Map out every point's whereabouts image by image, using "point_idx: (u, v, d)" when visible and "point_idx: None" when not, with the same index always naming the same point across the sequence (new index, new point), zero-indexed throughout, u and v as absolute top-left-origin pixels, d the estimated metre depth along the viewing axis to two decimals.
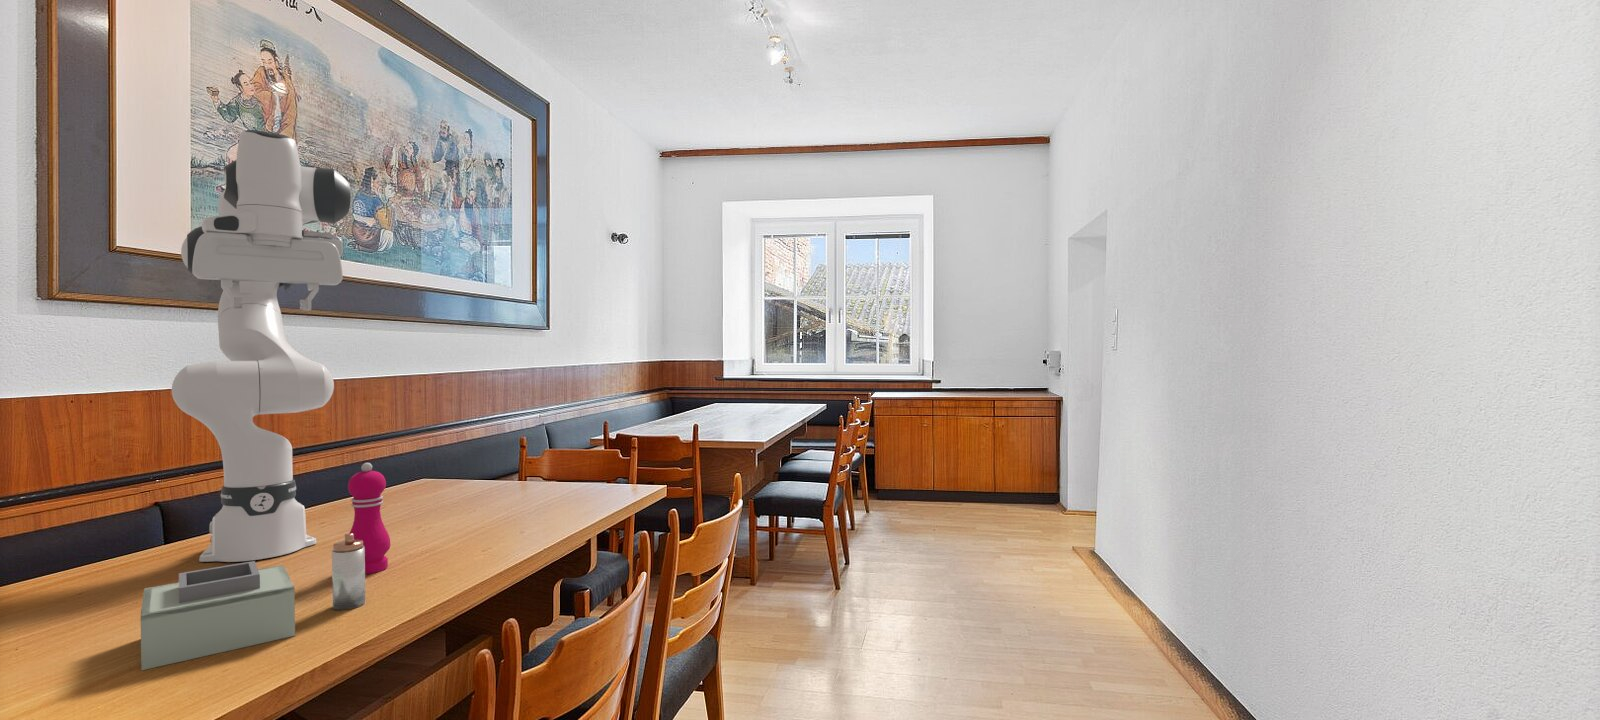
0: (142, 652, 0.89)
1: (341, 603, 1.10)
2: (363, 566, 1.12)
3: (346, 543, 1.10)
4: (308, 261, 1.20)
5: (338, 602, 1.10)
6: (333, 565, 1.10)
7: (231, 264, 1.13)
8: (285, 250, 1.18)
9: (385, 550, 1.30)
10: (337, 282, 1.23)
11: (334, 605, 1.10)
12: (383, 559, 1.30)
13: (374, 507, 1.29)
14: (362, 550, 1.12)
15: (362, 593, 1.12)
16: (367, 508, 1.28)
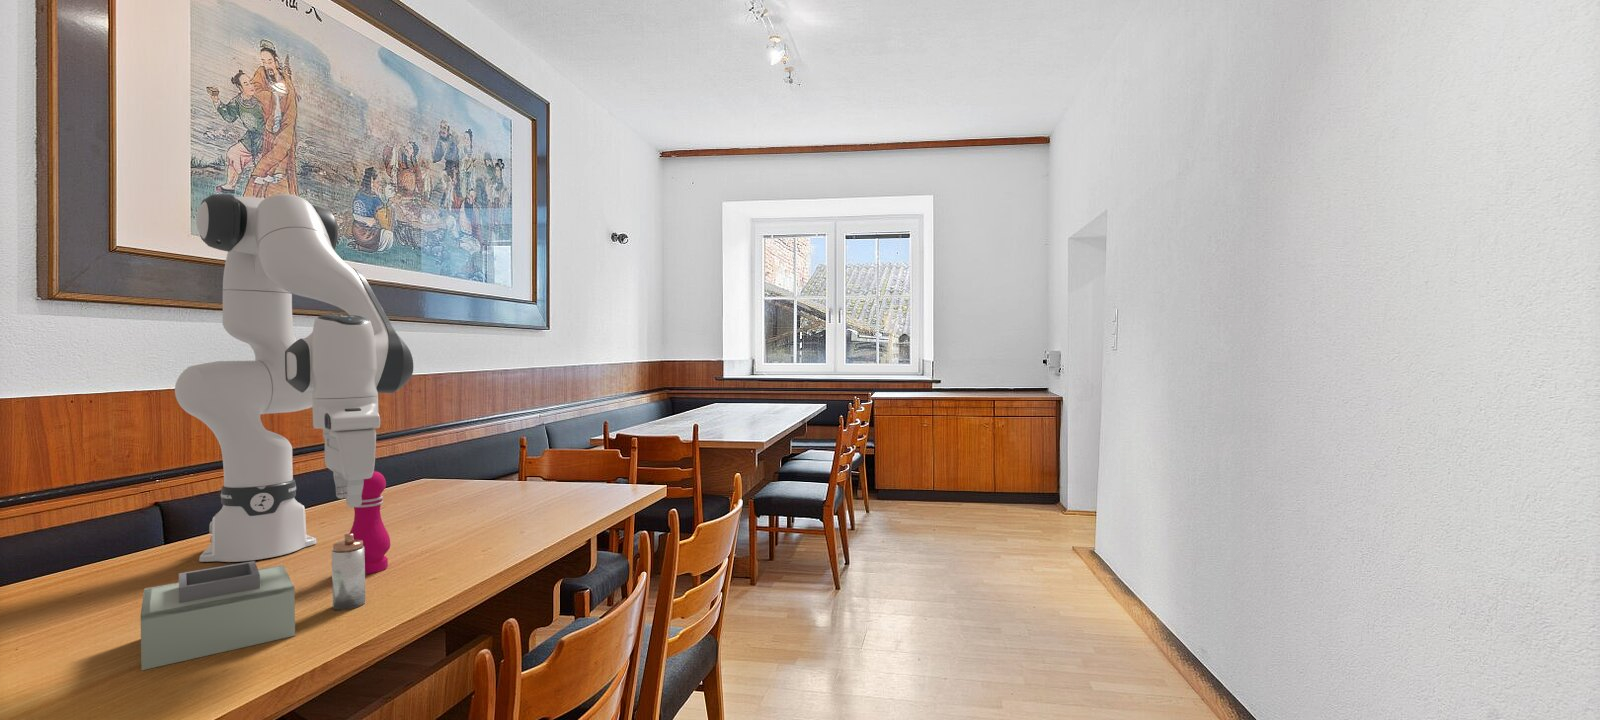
0: (142, 652, 0.89)
1: (341, 603, 1.10)
2: (363, 566, 1.12)
3: (346, 543, 1.10)
4: None
5: (338, 602, 1.10)
6: (333, 565, 1.10)
7: None
8: None
9: (385, 550, 1.30)
10: None
11: (334, 605, 1.10)
12: (383, 559, 1.30)
13: (374, 507, 1.29)
14: (362, 550, 1.12)
15: (362, 593, 1.12)
16: (367, 508, 1.28)
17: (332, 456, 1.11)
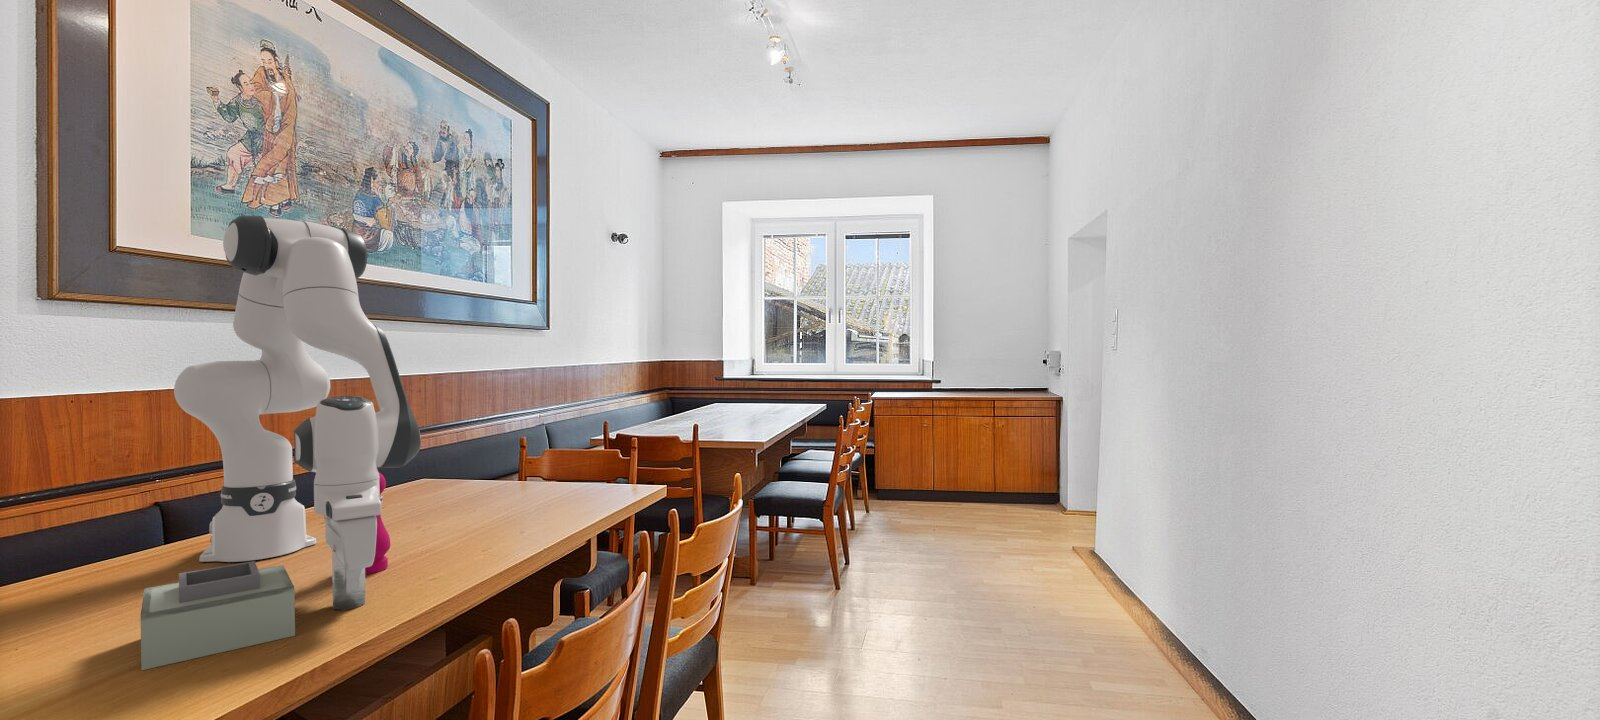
0: (142, 652, 0.89)
1: (341, 603, 1.10)
2: None
3: None
4: None
5: (338, 602, 1.10)
6: (333, 565, 1.10)
7: None
8: None
9: (385, 550, 1.30)
10: None
11: (334, 605, 1.10)
12: (383, 559, 1.30)
13: None
14: None
15: (362, 593, 1.12)
16: None
17: (333, 539, 1.12)
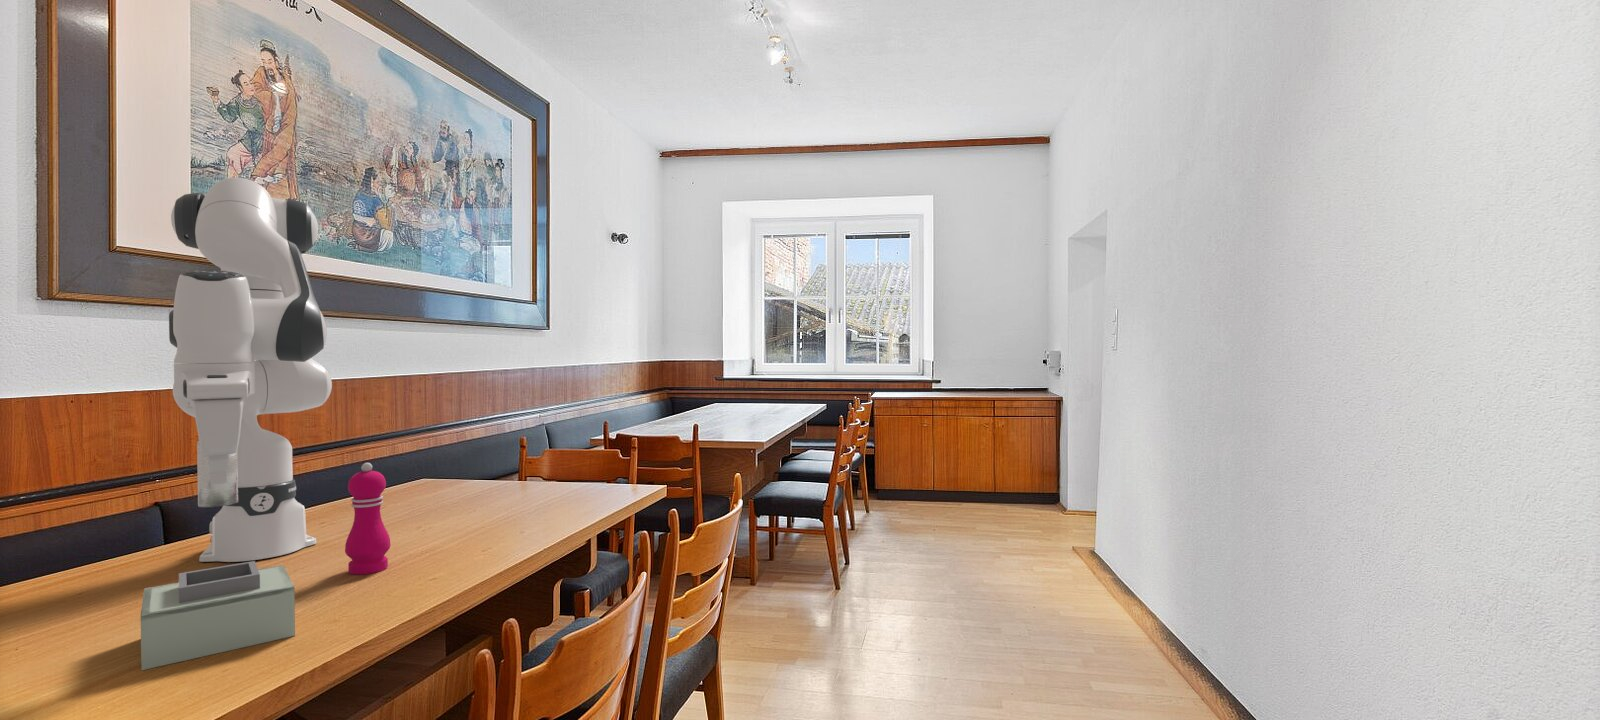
0: (142, 652, 0.89)
1: (206, 499, 0.97)
2: (234, 460, 1.00)
3: None
4: None
5: (203, 498, 0.97)
6: (198, 457, 0.98)
7: None
8: None
9: (385, 550, 1.30)
10: None
11: (199, 502, 0.98)
12: (383, 559, 1.30)
13: (374, 507, 1.29)
14: None
15: (233, 490, 1.00)
16: (367, 508, 1.28)
17: None
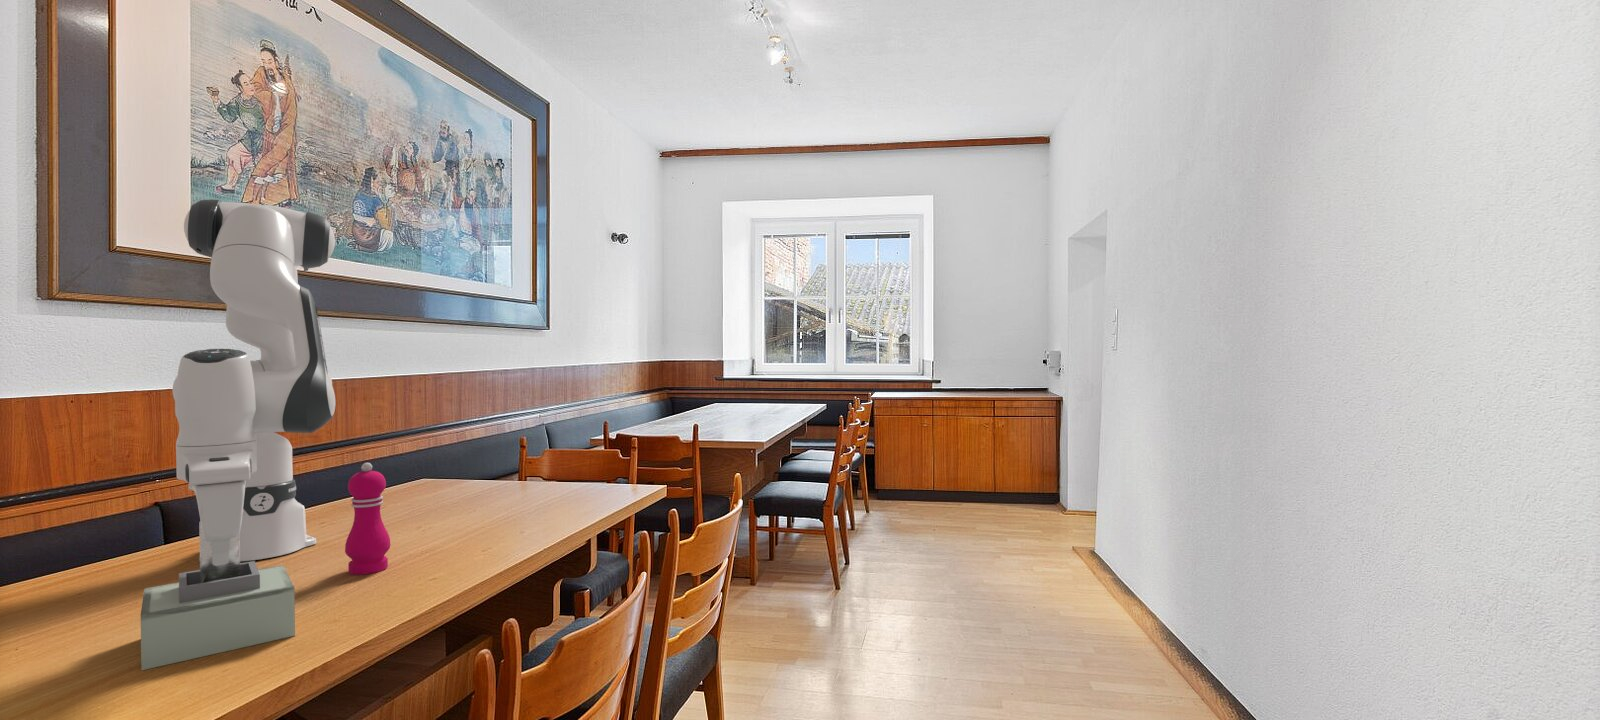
0: (142, 652, 0.89)
1: (208, 579, 0.97)
2: (237, 539, 1.00)
3: None
4: None
5: (205, 579, 0.98)
6: (200, 537, 0.98)
7: None
8: None
9: (385, 550, 1.30)
10: None
11: (201, 582, 0.98)
12: (383, 559, 1.30)
13: (374, 507, 1.29)
14: None
15: (235, 569, 1.00)
16: (367, 508, 1.28)
17: None
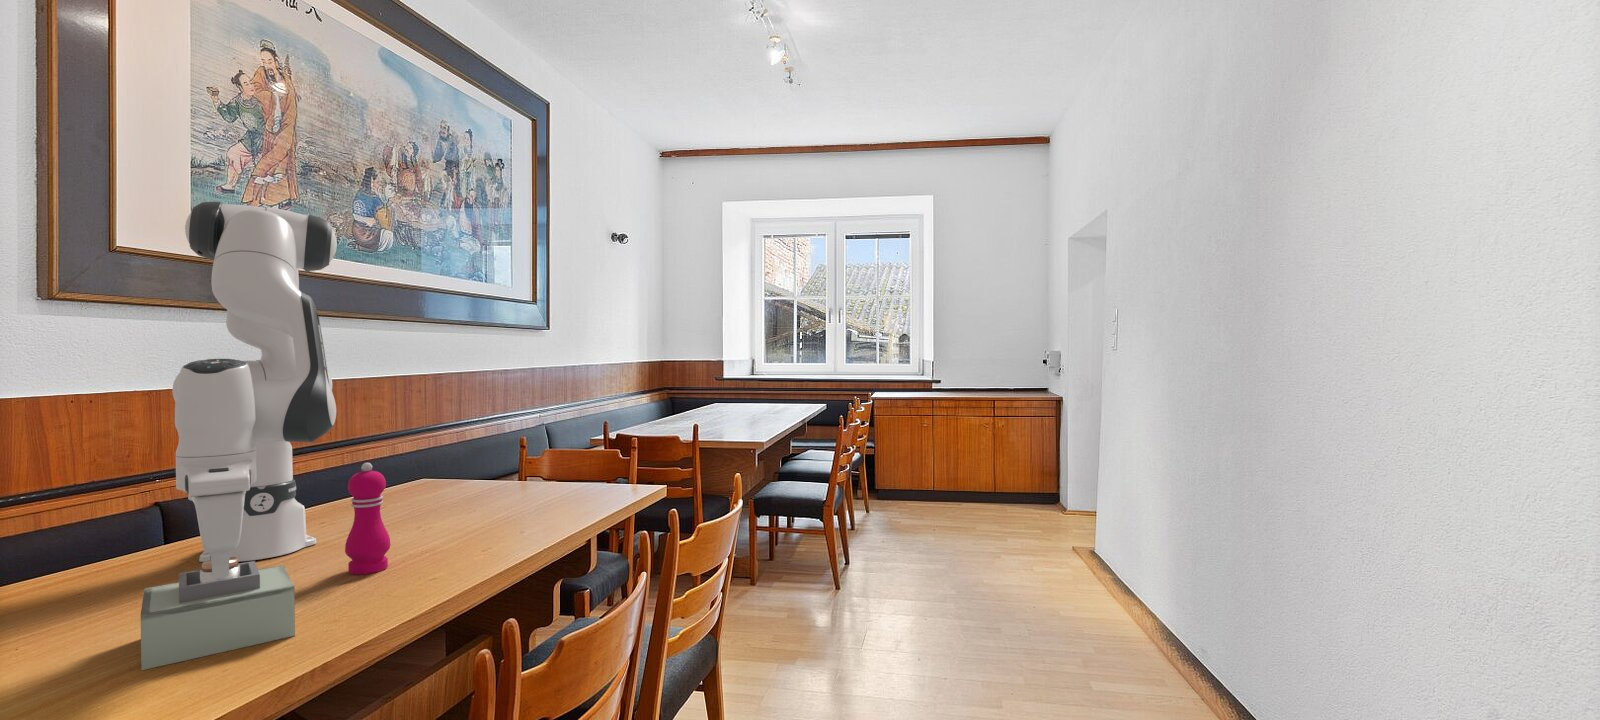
0: (142, 652, 0.89)
1: None
2: None
3: None
4: None
5: None
6: None
7: None
8: None
9: (385, 550, 1.30)
10: None
11: None
12: (383, 559, 1.30)
13: (374, 507, 1.29)
14: (236, 569, 1.00)
15: None
16: (367, 508, 1.28)
17: None
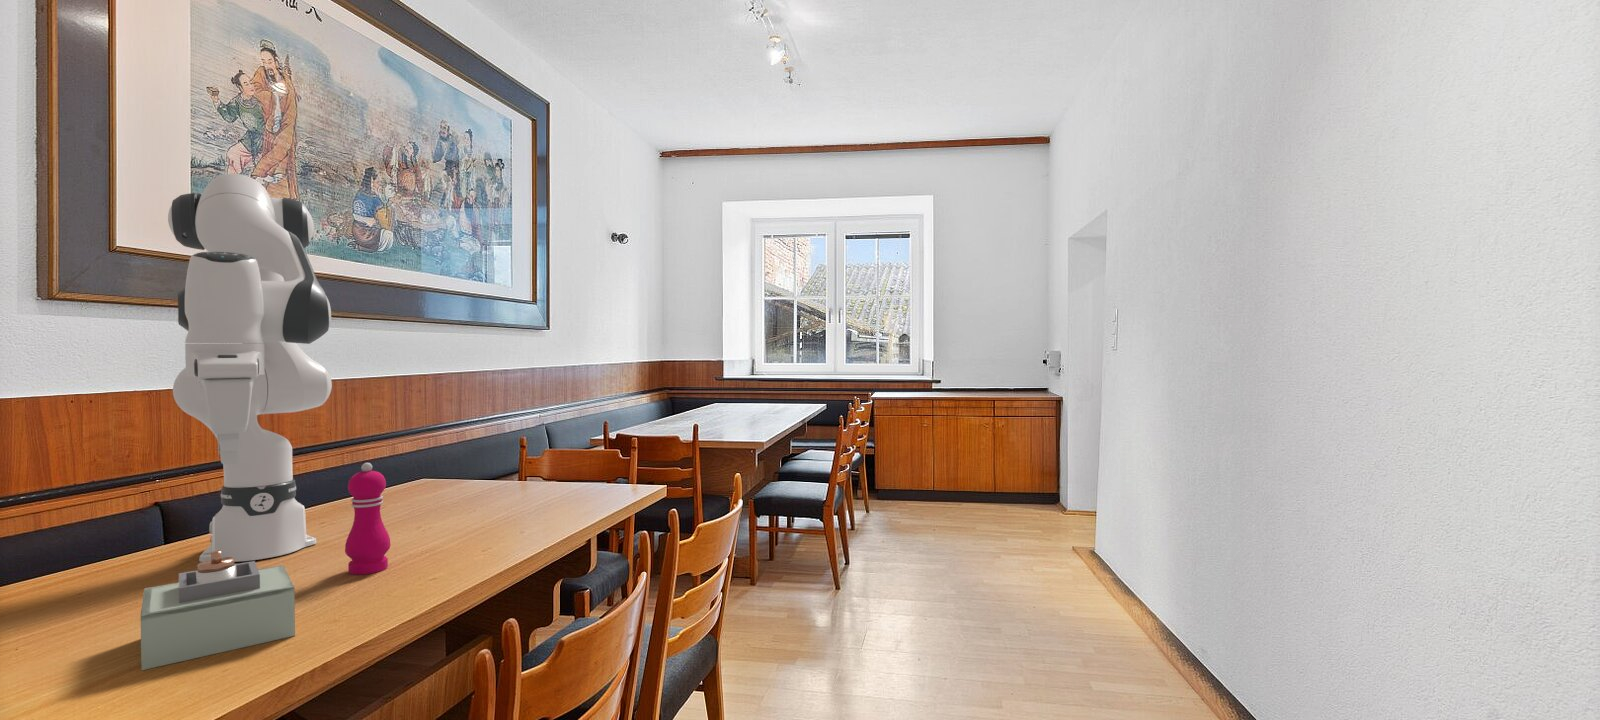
0: (142, 652, 0.89)
1: None
2: None
3: (212, 562, 0.98)
4: None
5: None
6: None
7: None
8: None
9: (385, 550, 1.30)
10: None
11: None
12: (383, 559, 1.30)
13: (374, 507, 1.29)
14: (233, 569, 1.00)
15: None
16: (367, 508, 1.28)
17: None
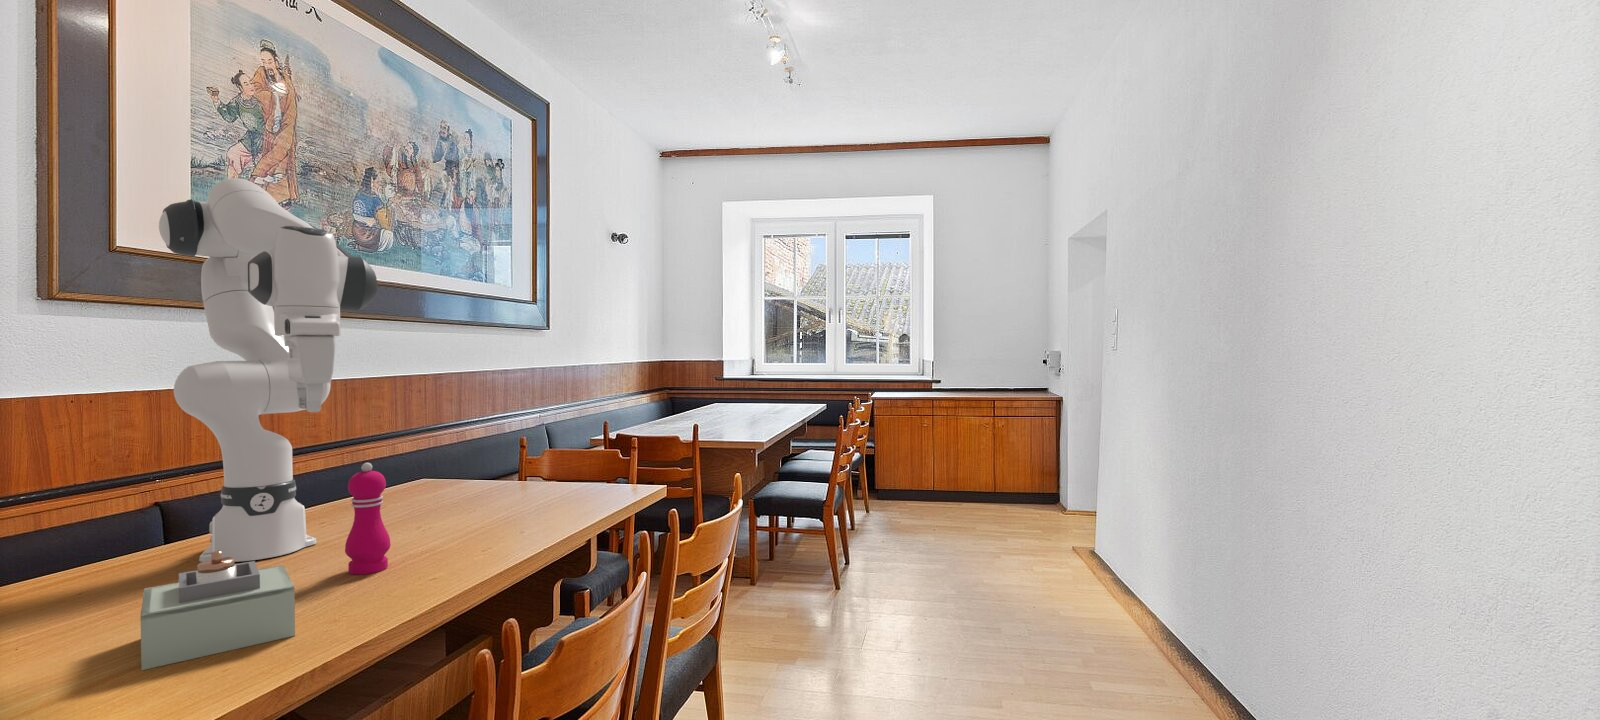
0: (142, 652, 0.89)
1: None
2: None
3: (213, 562, 0.98)
4: None
5: None
6: None
7: None
8: None
9: (385, 550, 1.30)
10: None
11: None
12: (383, 559, 1.30)
13: (374, 507, 1.29)
14: (233, 569, 1.00)
15: None
16: (367, 508, 1.28)
17: (294, 365, 1.14)
